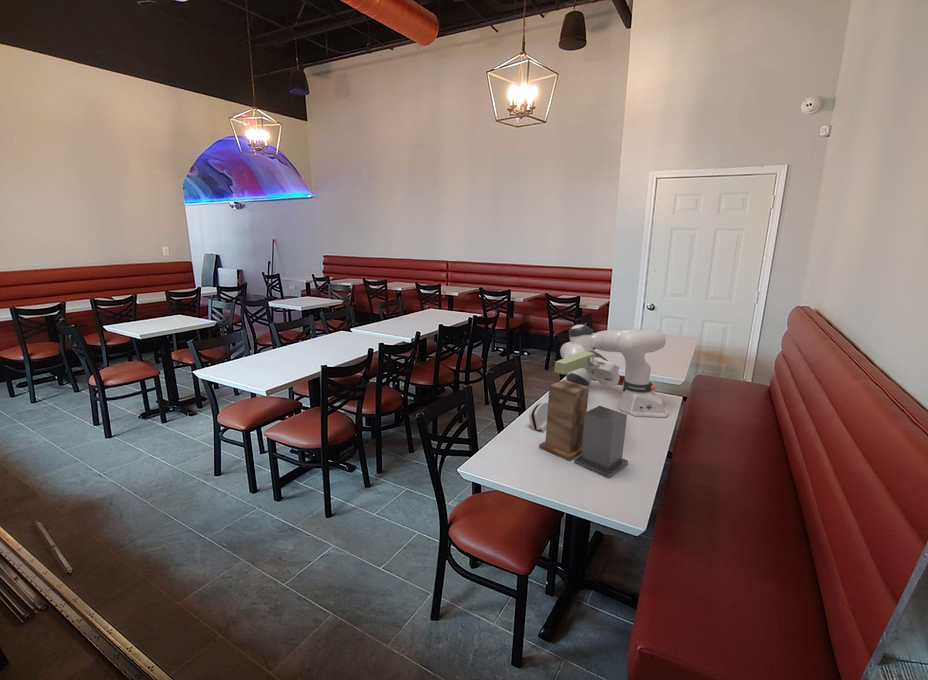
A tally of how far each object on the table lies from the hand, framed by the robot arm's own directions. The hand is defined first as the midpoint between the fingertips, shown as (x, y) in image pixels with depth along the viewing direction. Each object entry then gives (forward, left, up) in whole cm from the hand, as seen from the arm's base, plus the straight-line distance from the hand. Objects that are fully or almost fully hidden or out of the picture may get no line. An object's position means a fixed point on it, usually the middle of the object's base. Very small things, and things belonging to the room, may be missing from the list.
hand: (583, 358), depth 173 cm
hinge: (+15, -13, -36) cm, 41 cm away
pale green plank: (+3, +5, -2) cm, 6 cm away
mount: (-9, +15, -35) cm, 40 cm away
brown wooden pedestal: (+4, +7, -35) cm, 36 cm away
